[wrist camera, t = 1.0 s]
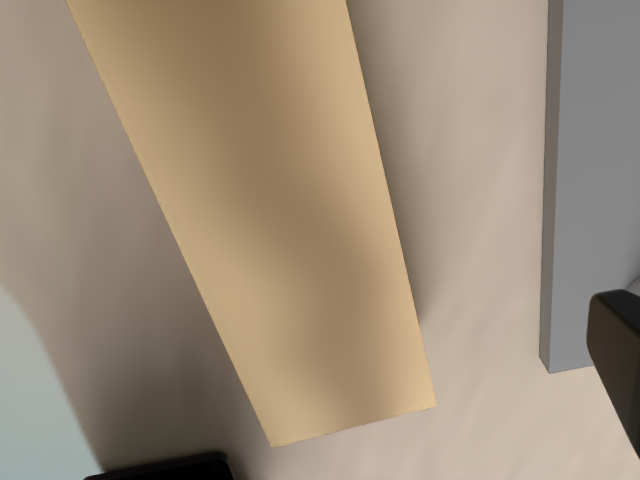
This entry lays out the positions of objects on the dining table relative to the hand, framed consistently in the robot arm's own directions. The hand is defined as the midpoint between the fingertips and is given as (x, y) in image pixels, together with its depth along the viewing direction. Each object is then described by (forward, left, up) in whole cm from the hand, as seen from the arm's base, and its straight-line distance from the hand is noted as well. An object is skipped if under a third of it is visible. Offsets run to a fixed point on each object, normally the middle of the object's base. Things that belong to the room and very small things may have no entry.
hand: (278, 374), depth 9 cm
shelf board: (0, 0, -12) cm, 12 cm away
